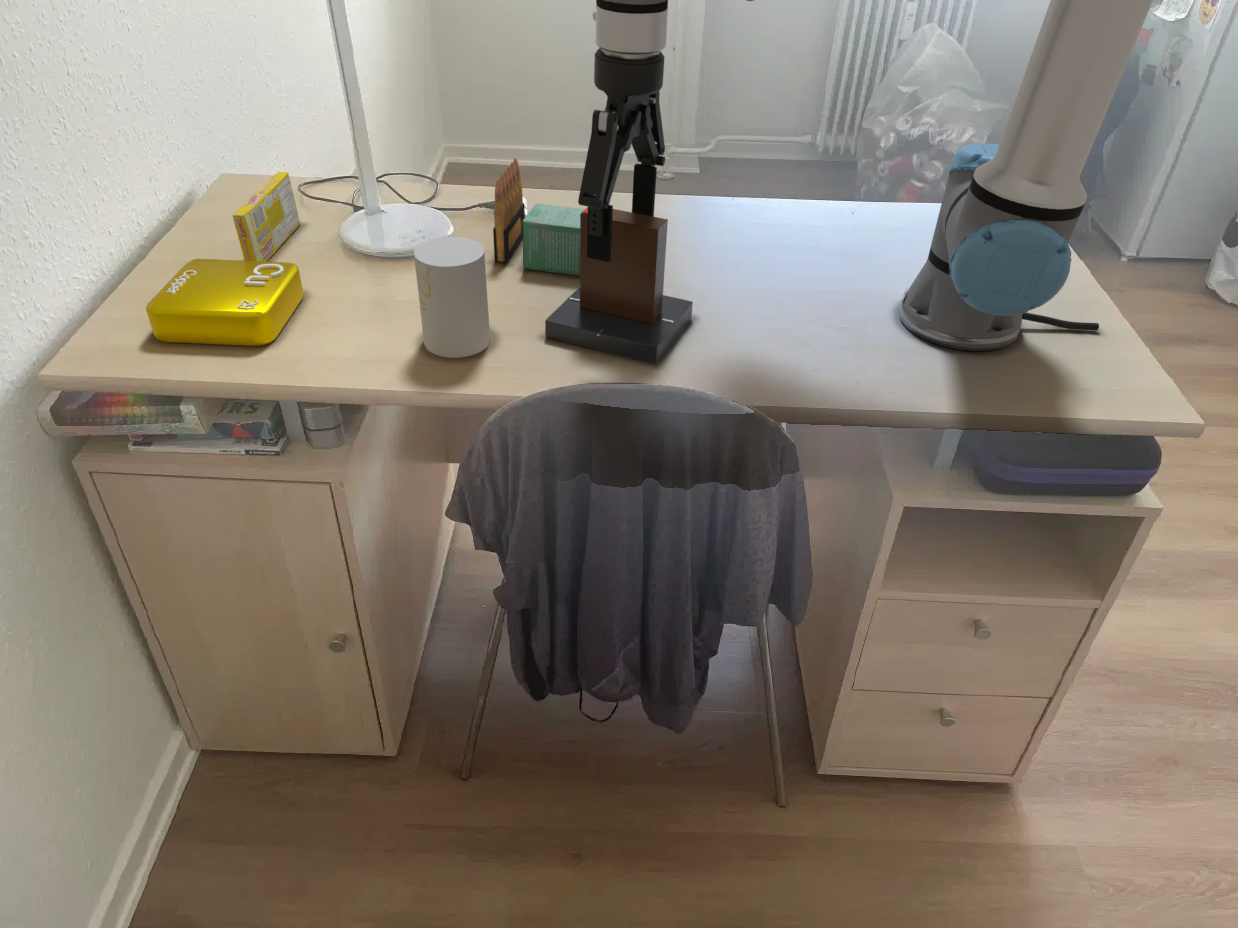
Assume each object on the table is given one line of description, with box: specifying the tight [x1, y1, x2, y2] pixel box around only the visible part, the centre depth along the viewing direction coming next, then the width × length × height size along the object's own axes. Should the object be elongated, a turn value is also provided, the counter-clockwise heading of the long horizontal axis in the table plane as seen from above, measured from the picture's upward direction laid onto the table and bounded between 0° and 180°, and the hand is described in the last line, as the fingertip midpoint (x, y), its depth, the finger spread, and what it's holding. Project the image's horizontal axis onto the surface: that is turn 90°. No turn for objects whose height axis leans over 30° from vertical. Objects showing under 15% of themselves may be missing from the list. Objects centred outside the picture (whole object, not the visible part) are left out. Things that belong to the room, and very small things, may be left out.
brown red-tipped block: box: [579, 206, 669, 324], centre depth 113 cm, size 10×3×13 cm, turn 67°
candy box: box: [232, 171, 301, 262], centre depth 132 cm, size 16×2×8 cm, turn 175°
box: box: [522, 203, 586, 277], centre depth 131 cm, size 7×14×8 cm, turn 79°
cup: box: [413, 236, 491, 359], centre depth 111 cm, size 8×8×12 cm
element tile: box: [145, 258, 305, 347], centre depth 117 cm, size 15×15×5 cm
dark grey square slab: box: [544, 286, 694, 366], centre depth 118 cm, size 15×14×3 cm
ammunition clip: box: [492, 157, 526, 264], centre depth 133 cm, size 11×2×12 cm, turn 170°
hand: (621, 237), depth 111 cm, fingers open, 13 cm apart
